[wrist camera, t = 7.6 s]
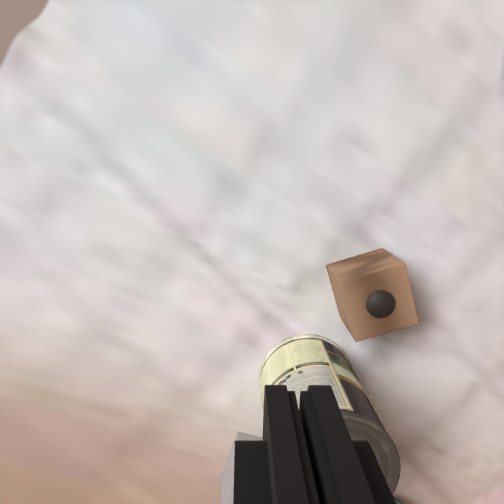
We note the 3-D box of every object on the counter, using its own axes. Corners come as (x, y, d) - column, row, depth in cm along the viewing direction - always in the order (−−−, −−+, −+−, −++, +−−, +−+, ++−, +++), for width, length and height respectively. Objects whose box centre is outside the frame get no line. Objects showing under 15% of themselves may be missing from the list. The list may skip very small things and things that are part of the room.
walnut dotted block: (381, 247, 41) (406, 264, 35) (393, 300, 43) (419, 324, 37) (325, 264, 41) (340, 284, 35) (339, 316, 43) (356, 343, 37)
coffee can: (364, 346, 44) (422, 435, 30) (331, 425, 46) (372, 541, 32) (274, 322, 43) (292, 402, 29) (246, 403, 45) (250, 514, 31)
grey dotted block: (286, 443, 46) (294, 486, 40) (270, 484, 48) (275, 532, 42) (237, 430, 46) (237, 473, 40) (222, 473, 47) (219, 520, 41)
